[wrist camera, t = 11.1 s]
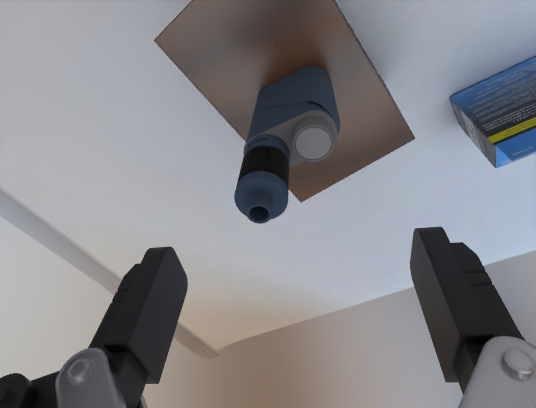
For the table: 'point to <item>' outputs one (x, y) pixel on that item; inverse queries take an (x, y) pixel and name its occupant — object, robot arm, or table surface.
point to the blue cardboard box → (501, 114)
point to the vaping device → (285, 139)
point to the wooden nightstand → (283, 64)
